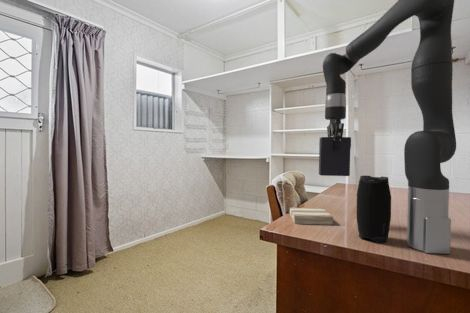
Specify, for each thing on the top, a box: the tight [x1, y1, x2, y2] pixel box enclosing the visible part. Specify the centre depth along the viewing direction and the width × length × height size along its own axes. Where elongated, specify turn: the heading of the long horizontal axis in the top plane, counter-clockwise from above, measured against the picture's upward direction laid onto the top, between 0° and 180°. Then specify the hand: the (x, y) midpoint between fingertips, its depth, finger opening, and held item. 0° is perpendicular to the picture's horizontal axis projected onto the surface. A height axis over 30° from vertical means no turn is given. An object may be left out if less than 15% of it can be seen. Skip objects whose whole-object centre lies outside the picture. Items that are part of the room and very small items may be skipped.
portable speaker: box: [356, 175, 392, 244], centre depth 77 cm, size 9×9×20 cm
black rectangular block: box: [318, 136, 352, 177], centre depth 97 cm, size 11×4×15 cm, turn 83°
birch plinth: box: [289, 206, 334, 226], centre depth 100 cm, size 14×14×3 cm
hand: (334, 150), depth 97 cm, fingers closed on black rectangular block, 4 cm apart
